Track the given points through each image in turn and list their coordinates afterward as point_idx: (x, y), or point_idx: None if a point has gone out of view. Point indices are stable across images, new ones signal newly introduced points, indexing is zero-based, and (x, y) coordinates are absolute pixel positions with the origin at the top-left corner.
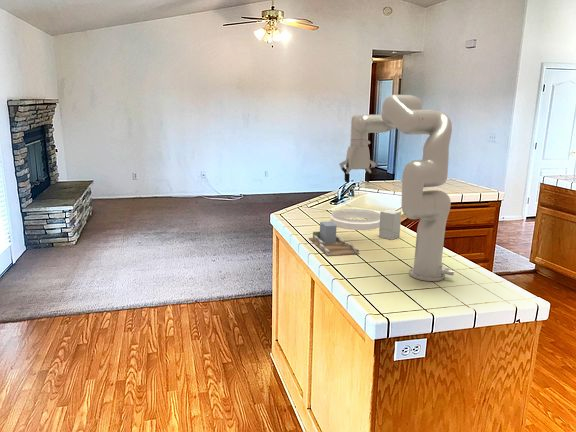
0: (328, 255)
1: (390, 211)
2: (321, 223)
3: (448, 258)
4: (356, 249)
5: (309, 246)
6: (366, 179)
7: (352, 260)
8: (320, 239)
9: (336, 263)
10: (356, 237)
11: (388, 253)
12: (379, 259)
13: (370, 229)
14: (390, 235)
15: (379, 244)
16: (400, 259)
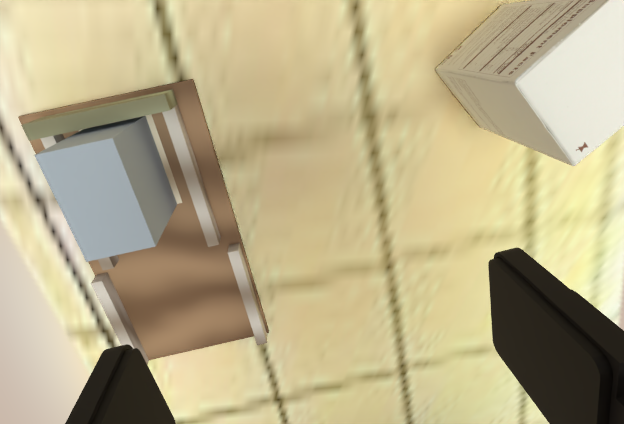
0: None
1: (591, 91)
2: (50, 180)
3: None
4: (257, 338)
5: (45, 247)
6: (510, 335)
7: (232, 388)
8: None
9: None
10: (305, 79)
11: (387, 312)
12: (332, 372)
13: None
14: (485, 124)
15: (391, 201)
16: (405, 366)
